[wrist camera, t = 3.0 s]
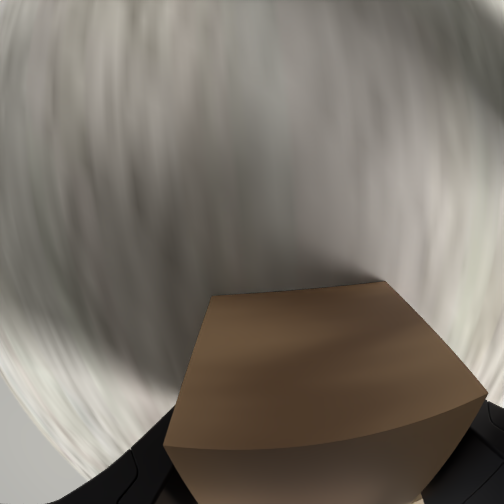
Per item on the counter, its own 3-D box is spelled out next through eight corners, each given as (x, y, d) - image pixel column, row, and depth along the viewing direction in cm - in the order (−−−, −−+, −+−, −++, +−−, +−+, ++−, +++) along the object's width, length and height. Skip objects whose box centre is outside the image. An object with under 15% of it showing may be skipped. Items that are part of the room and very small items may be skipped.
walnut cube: (385, 280, 8) (488, 392, 3) (365, 401, 9) (404, 509, 4) (211, 295, 8) (162, 445, 3) (232, 415, 9) (221, 534, 4)
